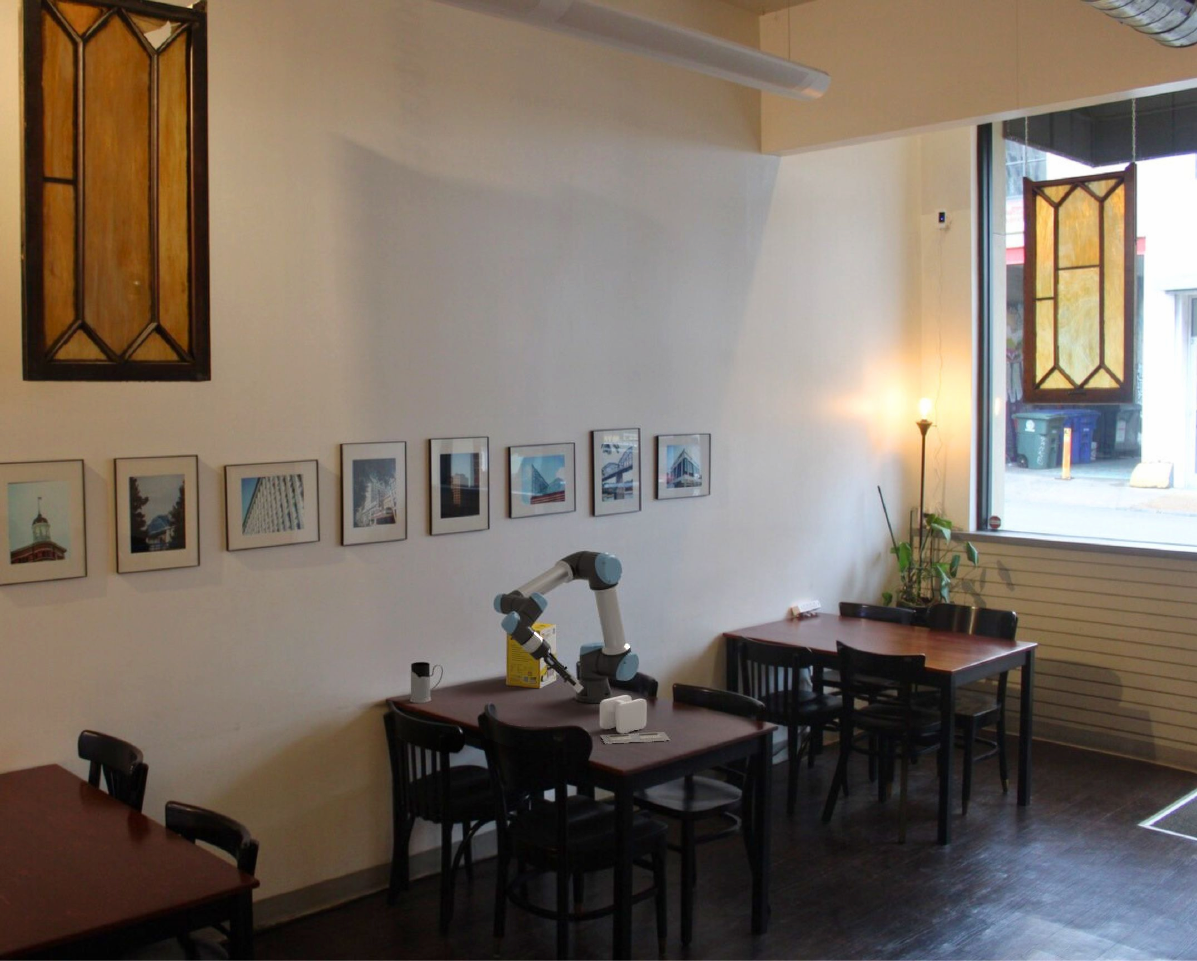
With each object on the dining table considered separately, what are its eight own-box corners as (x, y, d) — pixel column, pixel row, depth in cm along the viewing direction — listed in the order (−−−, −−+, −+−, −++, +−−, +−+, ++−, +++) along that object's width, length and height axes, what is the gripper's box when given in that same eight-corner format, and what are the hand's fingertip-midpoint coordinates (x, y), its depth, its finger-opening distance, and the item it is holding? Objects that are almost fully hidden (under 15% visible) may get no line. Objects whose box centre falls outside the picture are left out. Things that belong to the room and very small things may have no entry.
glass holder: (406, 699, 469) (406, 663, 468) (438, 694, 476) (438, 659, 475) (414, 703, 461) (414, 667, 460) (447, 699, 468) (446, 663, 467)
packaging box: (523, 676, 508) (523, 621, 506) (556, 680, 502) (556, 624, 500) (506, 684, 493) (506, 627, 491) (539, 688, 487) (540, 630, 485)
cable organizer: (617, 736, 417) (617, 705, 416) (598, 730, 425) (598, 699, 424) (646, 729, 427) (647, 698, 426) (627, 723, 435) (627, 693, 434)
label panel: (600, 736, 416) (600, 733, 416) (663, 733, 421) (663, 730, 421) (605, 744, 407) (605, 741, 407) (670, 741, 411) (670, 738, 411)
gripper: (525, 647, 428) (567, 687, 432) (532, 660, 407) (576, 702, 411) (539, 633, 429) (581, 672, 432) (547, 644, 407) (590, 686, 411)
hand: (578, 687), depth 422 cm, fingers open, 9 cm apart
